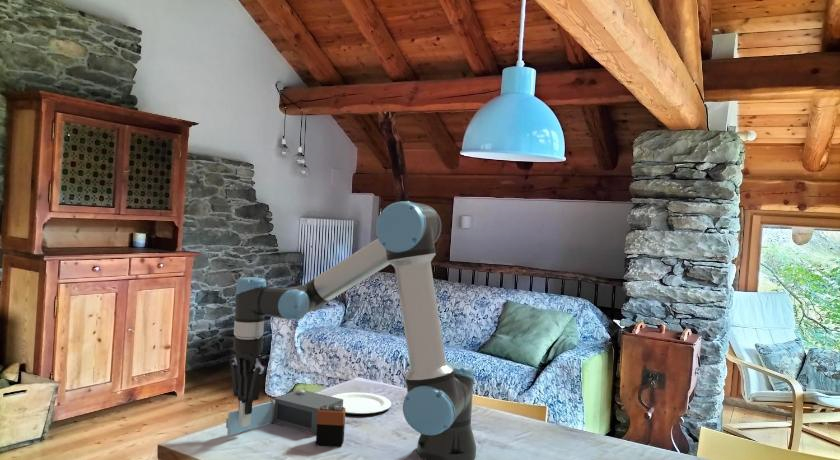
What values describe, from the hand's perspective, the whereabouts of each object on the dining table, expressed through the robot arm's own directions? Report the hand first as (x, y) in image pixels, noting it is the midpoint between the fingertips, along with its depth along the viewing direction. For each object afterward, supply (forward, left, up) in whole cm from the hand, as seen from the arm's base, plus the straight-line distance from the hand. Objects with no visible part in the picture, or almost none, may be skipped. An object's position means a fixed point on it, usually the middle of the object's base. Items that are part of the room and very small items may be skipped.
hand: (244, 425), depth 157 cm
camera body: (-8, -18, -3) cm, 20 cm away
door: (+2, -4, -3) cm, 5 cm away
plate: (-10, -39, -4) cm, 41 cm away
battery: (-21, -9, -3) cm, 23 cm away
